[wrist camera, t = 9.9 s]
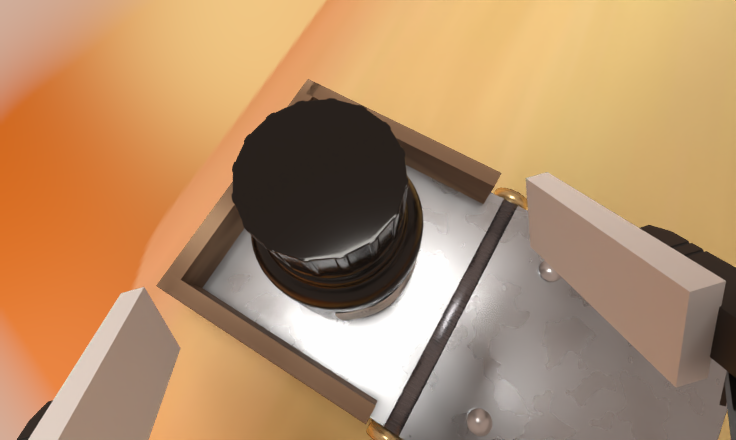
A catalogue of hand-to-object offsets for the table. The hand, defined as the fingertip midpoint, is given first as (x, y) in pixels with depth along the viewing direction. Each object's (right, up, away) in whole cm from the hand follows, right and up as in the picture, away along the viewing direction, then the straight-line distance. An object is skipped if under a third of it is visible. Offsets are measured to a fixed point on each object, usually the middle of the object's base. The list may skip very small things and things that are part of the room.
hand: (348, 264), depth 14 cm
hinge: (+6, -5, +14) cm, 16 cm away
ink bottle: (-1, -1, +13) cm, 13 cm away
